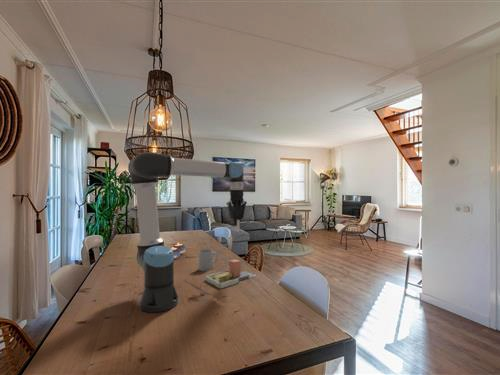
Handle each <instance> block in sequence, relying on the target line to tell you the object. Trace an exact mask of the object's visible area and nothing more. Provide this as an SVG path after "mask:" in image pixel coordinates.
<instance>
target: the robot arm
mask: <svg viewBox="0 0 500 375" xmlns="http://www.w3.org/2000/svg"><path fill="white" fill-rule="evenodd" d="M130 159H131V158H130ZM127 168H128V173H129V175H130V184H131V185H130V186H132V187H133V188H134V189H135V197H136V207H137V218H138V219H137V220H138V228H139V230H138V231H139V241H138V242H137V243H136V246H137V253H136V261H137V265H138V266H140V267H141V269H142V270H143V272H144V276H143V277H144V279H143V280H144V289H143V292H142V294H141V297H140V301H139V309H140V310H141V311H142V310H143V311H142V312H144V311H145V313H149V312H150V313H152V314H153V313H162V312H166V311H168V310H171V309H173V308H174V307H176V306H177V305H178V304H179V295H178V292H177V290H176V287H175V284H174V283H175V280H174V276H175V275H174V273H175V272H174V262H175V261H174V260H175V256H174V255H175V254H174V250H173V248H171V247H170V246H165V242H164V239H163V237H161V236H160V225H159V224H160V223H159V213H158V203H157V202H158V201H157V189H156V186H158V184H159V178H169V177H171V176H186V177H187V176H188V177H209V178H211V179H215V180H223V179H224V180H225V179H226V180H229V189H230V190H229V196H230V197H229V198H230V199H229V201H227V202H226V206H227V209H228V211H229V212H228V214H229V217H230V219H231V220H233V226H234V232H238V233H239V232H240V231H241V230H240V226H241V220H242V219H244V217H245V216H244V215H245V212H246V205H247V204H248V202H247V201H246V200H244V190H243V189H244V163H243V162H241V161H232V162H225V161H214V160H213V161H212V160H205V159H204V160H203V159H193V158H192V159H191V158H190V159H189V158H182V157H181V158H180V157H179V158H178V157H172V155H170V154H163V153H155V152H150V151H149V152H148V151H147V152H146V151H145V152H141V153H138V154H137V155H135V156H133V157H132V159H131V160H130V161H129V163H128V166H127Z"/></svg>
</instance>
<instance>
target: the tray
mask: <svg viewBox="0 0 500 375" xmlns="http://www.w3.org/2000/svg"><path fill="white" fill-rule="evenodd" d="M222 273H225V272H224V271H218V272H217V273H212V274H208V275H205V276H204V278H205V279H204V280H205V281H206V283H207V282H208V283H209V284H210V285H213V286H214V287H216V288H218V289H223V288H227V287H230V286H232V285H236V284H238V283H239V282H240V281H239V278H237V279H233V280H230V281H226V282H223V283H219V282H217V281H215V275H218V274H222Z"/></svg>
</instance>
